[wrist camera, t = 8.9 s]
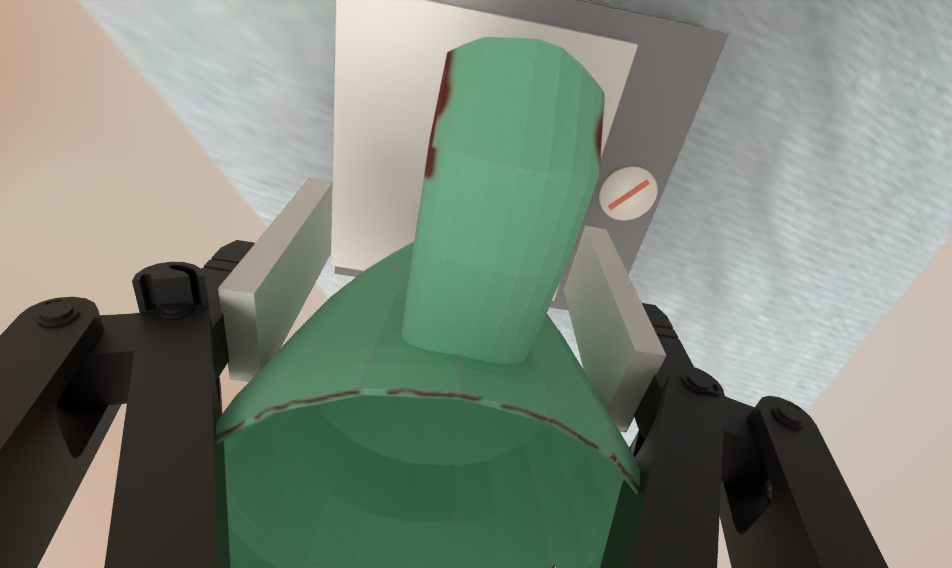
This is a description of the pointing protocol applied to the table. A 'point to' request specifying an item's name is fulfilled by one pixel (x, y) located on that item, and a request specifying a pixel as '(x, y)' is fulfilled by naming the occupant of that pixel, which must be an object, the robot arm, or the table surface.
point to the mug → (446, 359)
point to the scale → (417, 88)
